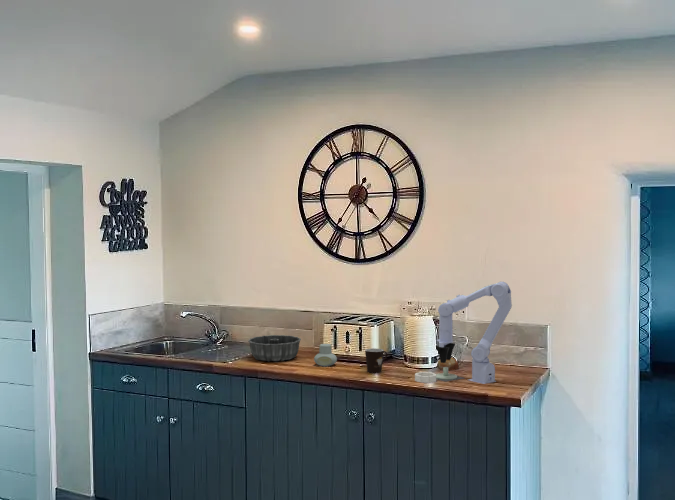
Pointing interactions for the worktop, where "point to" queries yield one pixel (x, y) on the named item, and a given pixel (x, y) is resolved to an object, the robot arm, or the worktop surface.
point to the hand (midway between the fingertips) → (445, 361)
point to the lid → (446, 375)
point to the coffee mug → (374, 360)
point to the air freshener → (325, 356)
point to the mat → (453, 379)
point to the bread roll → (448, 364)
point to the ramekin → (425, 377)
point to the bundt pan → (274, 347)
